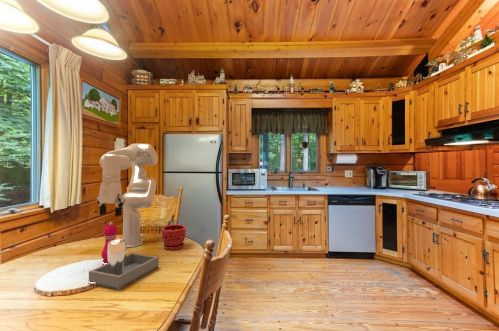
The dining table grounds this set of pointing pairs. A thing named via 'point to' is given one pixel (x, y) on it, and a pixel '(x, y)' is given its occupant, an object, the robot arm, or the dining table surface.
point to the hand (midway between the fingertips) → (110, 215)
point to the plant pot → (173, 236)
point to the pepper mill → (108, 239)
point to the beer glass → (116, 256)
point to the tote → (133, 271)
